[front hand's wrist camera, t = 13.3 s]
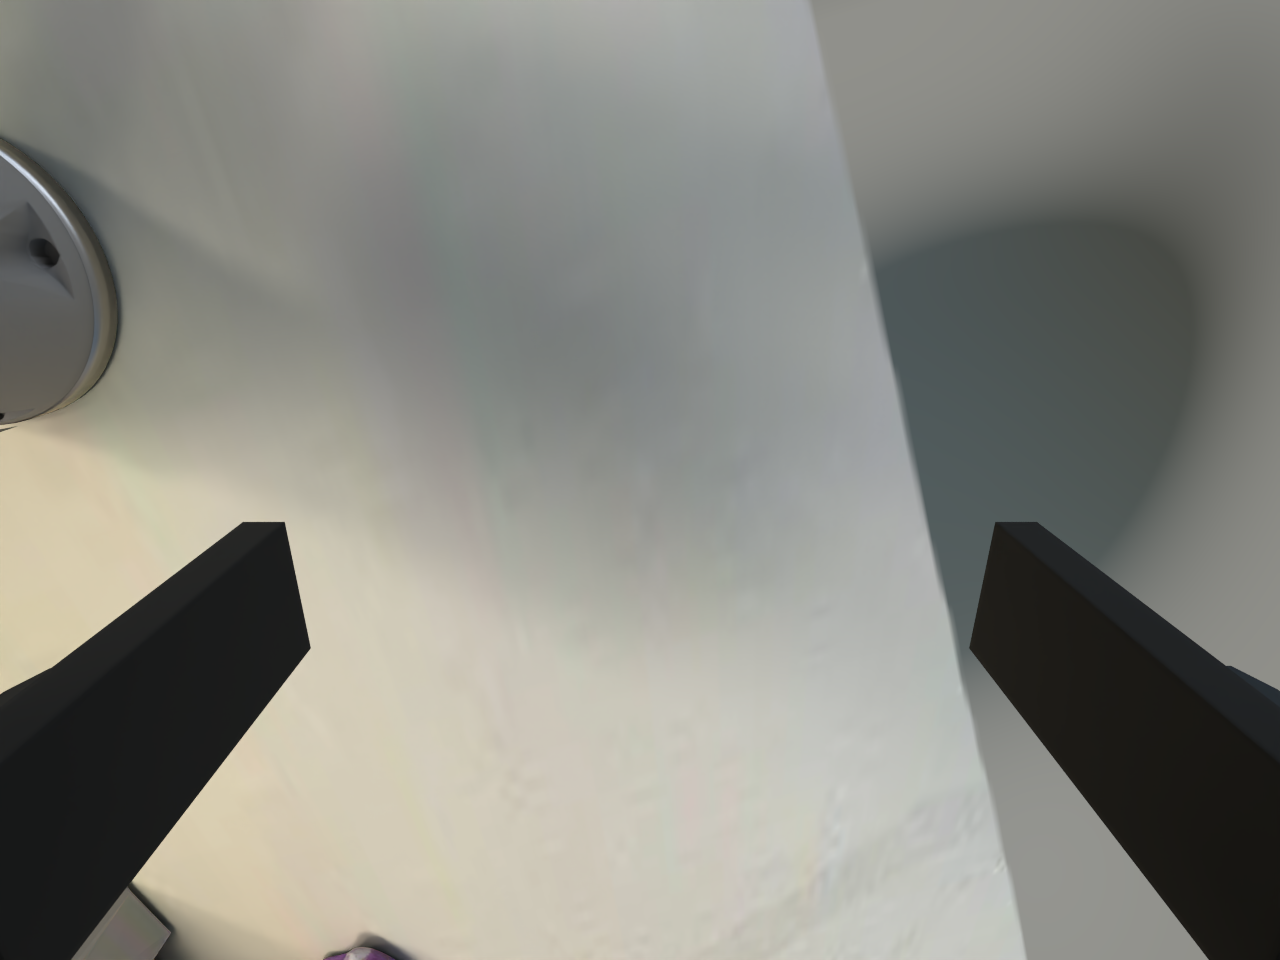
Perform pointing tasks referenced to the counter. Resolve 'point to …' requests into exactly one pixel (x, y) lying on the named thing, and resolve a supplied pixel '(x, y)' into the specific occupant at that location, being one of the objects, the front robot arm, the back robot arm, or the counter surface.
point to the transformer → (125, 933)
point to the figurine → (361, 955)
